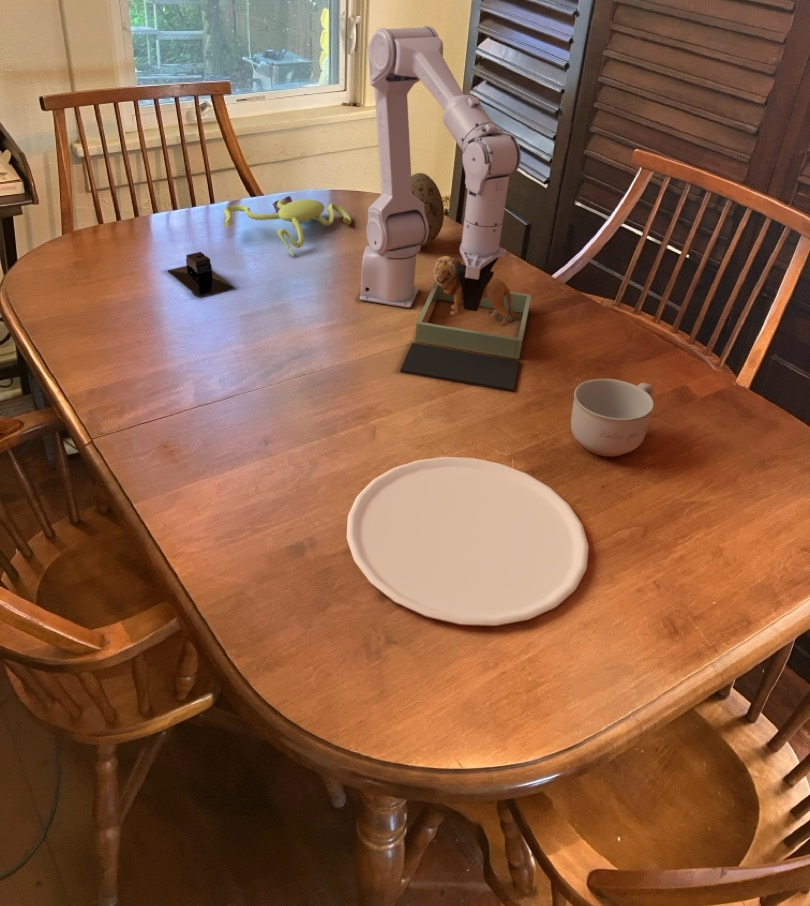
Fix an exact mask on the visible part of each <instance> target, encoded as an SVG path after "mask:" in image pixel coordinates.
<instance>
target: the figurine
mask: <svg viewBox="0 0 810 906" xmlns="http://www.w3.org/2000/svg"><path fill="white" fill-rule="evenodd" d="M272 207H273V208H274V211H275V212H274V213H273V212H272V213H254V212H252V211H251V208H250V207H249V206H247V205H244V204H235V205H230V206H227V207H226V208H224V209H223V214H224V216H225V219H224V222H223V226H224V227H225V228H228V227H229V226H230V225H231V223H232V221H233V216H232V213H234V212H245V215H246V216H247V217H248V218H249V219H252V220H255V221H269V220H280V219H281V220H282V221H285V222H290V223H292V226H293V228H295V229H296V233H297V237H298V239H297V240H298V241H296V240H295V239H294V238H293V236H292V235H291V234H290V232H289V230H286V229H285V228H280V229H279V230H277V235H278V237H279V239H280V240H281V241H282V243H283V244H284V245H285V246H286V248H287V249H288V251H289V253H290V254H291V256H294V252H293V250H292V248H291V246H290V245H289V243H288V242H287V240H286V239H285V237H284V235H285V236H287V238H288V240H289V241H290V243H291V244H292V246H293V247H295V248H297V249H300V248H301V247H303V246H304V243H305V237H304V236H305V235H304V231H303V227H302V225H301V224H302V222H304V223H305V224H306V223H307V222H308V221H312V220H313V219H314V220H316V221H318V222H319V223H321V225H323V226H326V227H329V226H331V225H332V224H333V223H334V219H335V216H334V215H335V214H334V213H335V212H334V211H336V212H337V213H339V215H340V216H341V217H343V219H342V222H343V223H344V224H345V225H347V226H349V225H351V224H352V218H351V217H350V215H349V214H348V213H347V211H345V210H344V209H343V207H341V206H340V205H338V204H336V203H330V204H329V205H328V207H327V213H328V220H327V219H326V218H325V217H323V216H322V213H324V211H325V205H324V204H323V203H322V202H321V201H319V200H316V199H310V198H309V199H306V198H305V199H298V200H293V199H292V197H291V196H290V195H288V196H286V197H284V198H282V199H280V200H279V199H278V200H276V201H274V202H273V203H272Z"/></svg>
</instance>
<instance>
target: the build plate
mask: <svg viewBox="0 0 810 906" xmlns="http://www.w3.org/2000/svg"><path fill="white" fill-rule="evenodd" d="M185 262H186V263H185V264H186V265H184V266H180V267H176V268H171V269H167V273H168V274H169V275H170V276H172V277H173V278H174V279H175V280H177V281H178V282H179V283H180V284H182V285H183V286H184V287H185V288H186V289H187V290H189V291H190V292H191V294H192V295H193V296H194V297H196V298H204V297H207V296H212V295H215V294H220V293H223V292H227V291H230V290H234V289H235V286H234V285H232V284H231V283H230V282H229V281H227V280H226V279H224V278H223V277H221V276H220V275H219V274H218V273H217V272H215V271H214V270H213V268H212V266H213V265H212V262H211V258H210V257H208V256H207V255H205V254H204V253H203V252H201V251H197V252H193V253H190V254H186V259H185Z"/></svg>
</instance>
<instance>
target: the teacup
mask: <svg viewBox="0 0 810 906" xmlns="http://www.w3.org/2000/svg"><path fill="white" fill-rule="evenodd" d="M653 396H654V388H653V386H652V384H650V383H647V382H641V383H639V384H637V385H636V384H633V383H630V382H627V381H624V380H620V379H613V378H595V379H594V378H593V379H589V380H586V381H583V382H582V383H580V384H578V386H576V388H575V389H574V391H573V403H572V409H571V417H570V430H571V433H572V435H573V437H574V439H575V440H576V441H577V442H578V443H579V444H580V445H581V446H582V447H583V448H584V449H585V450H587V451H589V452H591V453H592V454H594V455H599V456H602V457H618V456H619V457H620V456H622V455H624V454H627V453H630V452H632V451H634V450H636V449H637V448H638V447H639V446H640V445H641V444H642V443H643V441H644V440H645V437H646V434H647V431H648V427H649V424H650V420H651V416H652V412H653V411H654V407H655V402H654V400H653Z"/></svg>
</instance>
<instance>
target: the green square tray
mask: <svg viewBox="0 0 810 906" xmlns="http://www.w3.org/2000/svg"><path fill="white" fill-rule="evenodd" d="M510 293H511V298H512V308H513V313H519V314H522V318H521V320H520V326H519V331H518V336H517V337H515V336H508V335H502V334H496V333H489V332H484V331H478V330H472V329H465V328H460V327H453V326H447V325H442V324H436V323H431V322H429V320H430V318H431V317H432V314H433V311H434V309H435V306H436V304H437V301H438V300H439V301H443V302H444V301H445V302H451V303H455V302H454V296H453V295H449V294H447V293H445V292H444V289H443V288H442V287H441V286H439V285H438V284H437V282H436V281H435V280H434V283H433V285H432V287H431V290H430V292H429V294H428V297H427V298H426V301H425V303H424V305H423V307H422V309H421V311H420V314H419V317H418V319H417V321H416V323H415V334H414V343H419V344H424V345H430V346H436V347H442V348H448V349H454V350H460V351H466V352H472V353H478V354H484V355H490V356H496V357H501V358H507V359H514V360H519V359H520V356H521V352H522V346H523V342H524V338H525V334H526V333H525V332H526V327H527V323H528V317H529V314H530V308H531V302H532V297H533V295H532V294H530V293H529V294H528V293H522V292H517V291H510ZM461 304H463V301H462V303H461ZM504 306H505V309H506V310H507V311H508V312H510V310H509V304H508V299H507V295H505V296H504ZM479 307H482V308H489V309H493V310H494V309H495V308H494V306H493V304H492V303H491V300H490V298H486V299H482V300H481V302H480V305H479ZM497 319H498V320H499V321H502V320H504V319H503V317H502V315H501V314H500V313H499V314H498V315H497ZM513 321H514V319H513V318H512V316H511V314H510V313H508V323H511V322H513Z"/></svg>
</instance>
